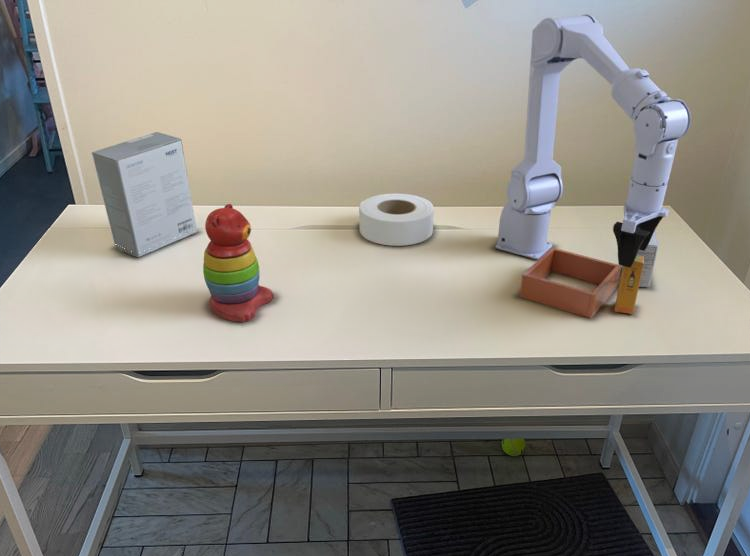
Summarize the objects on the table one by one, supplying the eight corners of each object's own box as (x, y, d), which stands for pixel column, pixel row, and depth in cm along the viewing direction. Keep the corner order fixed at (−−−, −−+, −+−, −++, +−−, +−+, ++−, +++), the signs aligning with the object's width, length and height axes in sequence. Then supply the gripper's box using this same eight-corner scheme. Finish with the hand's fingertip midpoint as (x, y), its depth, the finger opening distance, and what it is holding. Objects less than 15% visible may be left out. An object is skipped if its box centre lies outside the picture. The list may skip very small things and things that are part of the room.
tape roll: (366, 213, 160) (365, 190, 157) (436, 218, 159) (437, 194, 155) (352, 243, 147) (351, 218, 144) (428, 249, 146) (429, 223, 143)
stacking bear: (247, 324, 121) (234, 226, 111) (195, 313, 124) (179, 217, 114) (278, 295, 129) (269, 202, 119) (229, 285, 132) (216, 193, 122)
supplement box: (634, 306, 128) (645, 255, 122) (632, 315, 125) (644, 263, 120) (615, 302, 129) (625, 252, 123) (613, 312, 126) (624, 260, 120)
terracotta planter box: (519, 296, 130) (522, 274, 128) (549, 268, 140) (552, 247, 137) (591, 318, 124) (595, 295, 122) (616, 287, 134) (621, 265, 131)
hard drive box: (174, 223, 155) (158, 130, 143) (198, 232, 151) (183, 138, 140) (113, 248, 144) (90, 150, 133) (137, 259, 140) (116, 159, 129)
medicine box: (649, 288, 133) (659, 246, 128) (624, 286, 134) (633, 243, 129) (646, 269, 140) (655, 228, 135) (622, 267, 140) (631, 226, 135)
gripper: (661, 199, 108) (642, 279, 115) (686, 172, 118) (667, 247, 125) (615, 189, 111) (600, 268, 118) (644, 163, 121) (628, 237, 128)
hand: (632, 256), depth 122 cm, fingers open, 7 cm apart
